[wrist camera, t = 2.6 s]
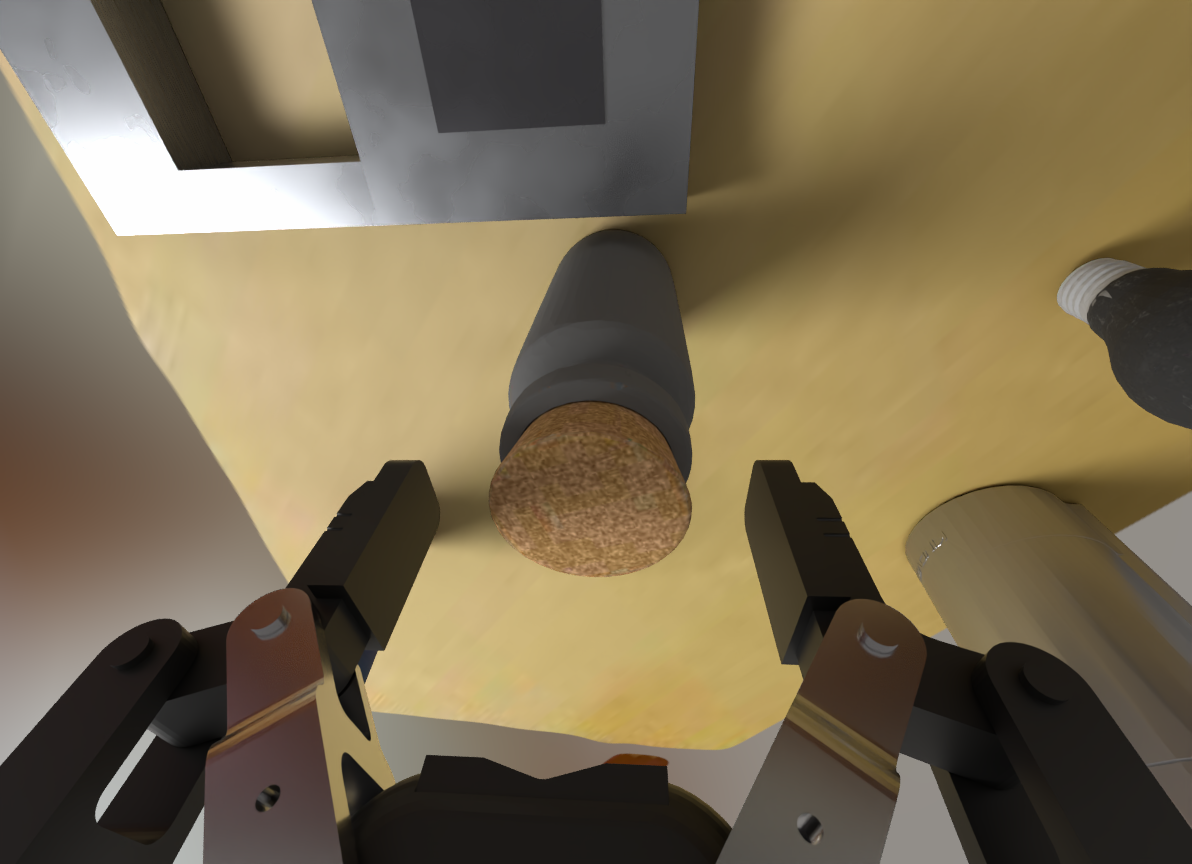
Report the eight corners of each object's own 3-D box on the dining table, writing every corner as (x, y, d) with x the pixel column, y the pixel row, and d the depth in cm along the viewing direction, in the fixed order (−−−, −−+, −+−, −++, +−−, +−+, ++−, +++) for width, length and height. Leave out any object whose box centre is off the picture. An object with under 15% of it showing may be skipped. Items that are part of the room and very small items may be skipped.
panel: (705, -272, 13) (721, -360, 10) (679, 199, 20) (686, 214, 18) (-45, -178, 15) (-180, -232, 12) (174, 220, 22) (115, 236, 20)
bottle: (670, 344, 24) (706, 596, 12) (560, 346, 25) (488, 589, 13) (676, 225, 21) (734, 410, 9) (548, 230, 21) (432, 410, 9)
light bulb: (976, 326, 22) (1168, 456, 14) (1064, 201, 19) (1376, 279, 11) (1086, 346, 23) (1334, 484, 15) (1190, 225, 19) (1588, 319, 11)
